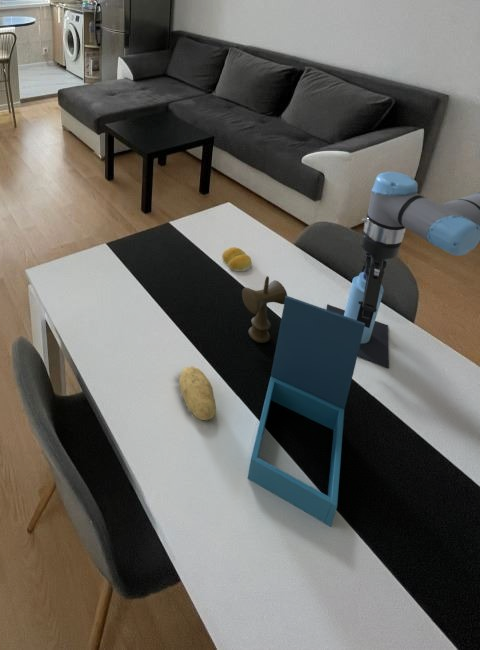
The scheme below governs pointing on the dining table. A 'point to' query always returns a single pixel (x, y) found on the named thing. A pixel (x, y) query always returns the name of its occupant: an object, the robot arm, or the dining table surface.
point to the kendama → (262, 307)
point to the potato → (197, 393)
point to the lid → (317, 350)
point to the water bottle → (353, 305)
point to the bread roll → (236, 259)
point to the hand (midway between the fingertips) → (363, 305)
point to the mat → (372, 342)
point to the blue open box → (285, 483)
